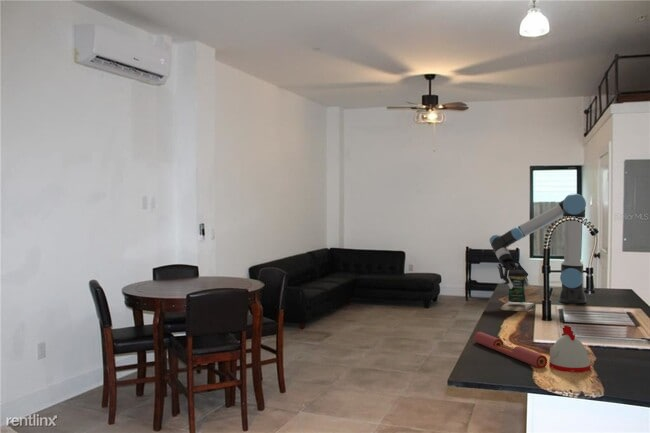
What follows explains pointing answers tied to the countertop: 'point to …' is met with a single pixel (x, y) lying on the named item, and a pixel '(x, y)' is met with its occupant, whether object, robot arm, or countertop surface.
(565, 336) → the grey hat
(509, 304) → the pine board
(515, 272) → the coffee jar
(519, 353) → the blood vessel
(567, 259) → the robot arm
